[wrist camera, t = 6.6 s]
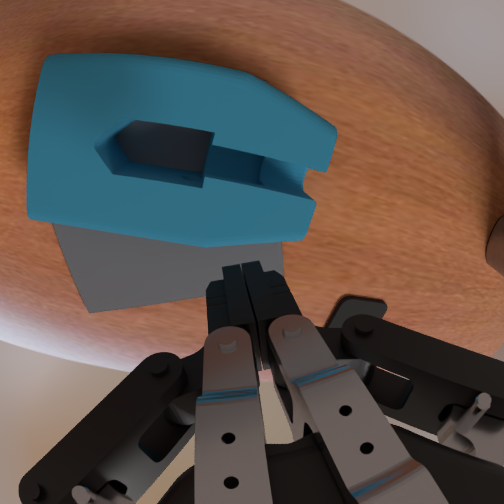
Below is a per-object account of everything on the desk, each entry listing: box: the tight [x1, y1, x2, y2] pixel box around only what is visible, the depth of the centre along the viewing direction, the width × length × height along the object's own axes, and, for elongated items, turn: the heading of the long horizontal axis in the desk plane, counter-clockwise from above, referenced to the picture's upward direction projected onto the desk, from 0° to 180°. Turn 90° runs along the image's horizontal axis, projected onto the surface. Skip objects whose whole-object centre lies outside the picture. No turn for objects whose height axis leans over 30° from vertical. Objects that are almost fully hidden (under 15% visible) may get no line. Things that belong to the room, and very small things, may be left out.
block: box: [27, 53, 337, 248], centre depth 18 cm, size 12×5×20 cm
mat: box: [53, 80, 284, 313], centre depth 22 cm, size 20×18×1 cm
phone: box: [325, 296, 387, 328], centre depth 34 cm, size 7×1×15 cm
